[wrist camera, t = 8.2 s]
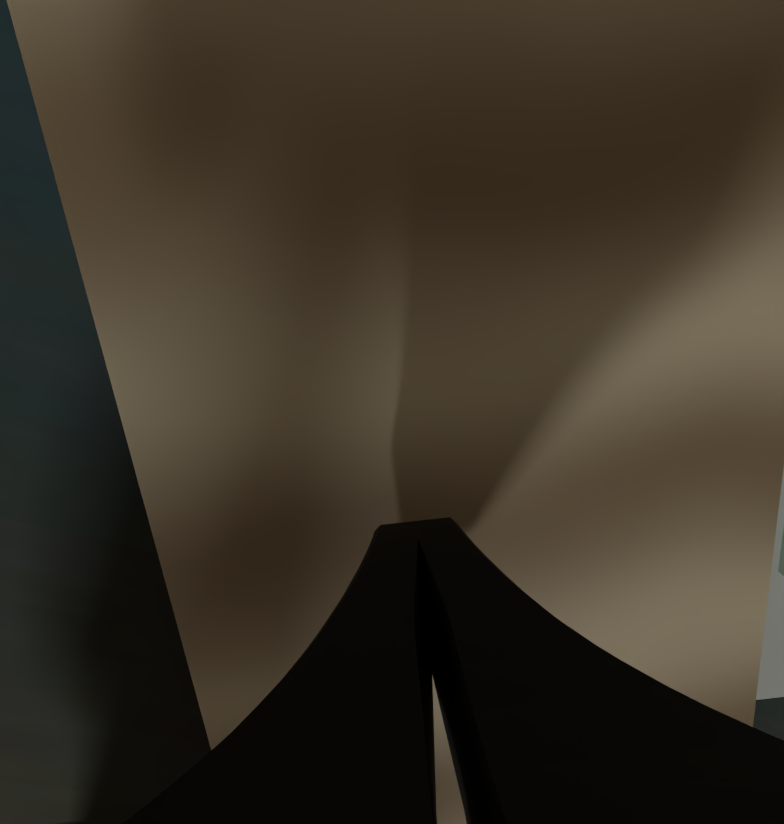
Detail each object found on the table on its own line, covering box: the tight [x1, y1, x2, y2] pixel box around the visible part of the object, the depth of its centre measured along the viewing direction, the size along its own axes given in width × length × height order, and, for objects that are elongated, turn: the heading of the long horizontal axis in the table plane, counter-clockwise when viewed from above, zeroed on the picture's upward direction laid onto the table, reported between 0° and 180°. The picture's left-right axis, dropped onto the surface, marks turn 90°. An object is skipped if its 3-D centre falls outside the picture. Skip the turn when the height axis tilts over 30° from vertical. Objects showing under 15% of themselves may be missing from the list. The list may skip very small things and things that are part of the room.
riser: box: [7, 0, 784, 824], centre depth 13 cm, size 20×12×4 cm, turn 6°
